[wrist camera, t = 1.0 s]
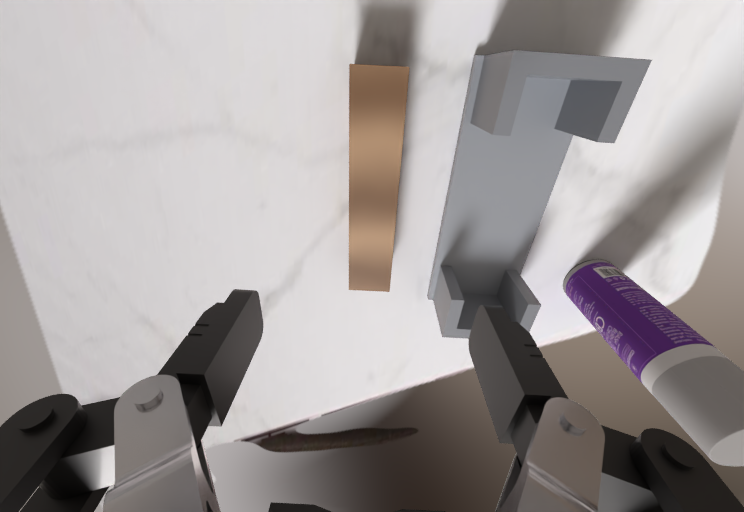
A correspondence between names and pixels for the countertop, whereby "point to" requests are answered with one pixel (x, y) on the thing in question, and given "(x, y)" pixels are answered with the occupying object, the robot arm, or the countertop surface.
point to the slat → (374, 170)
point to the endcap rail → (517, 171)
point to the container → (666, 358)
